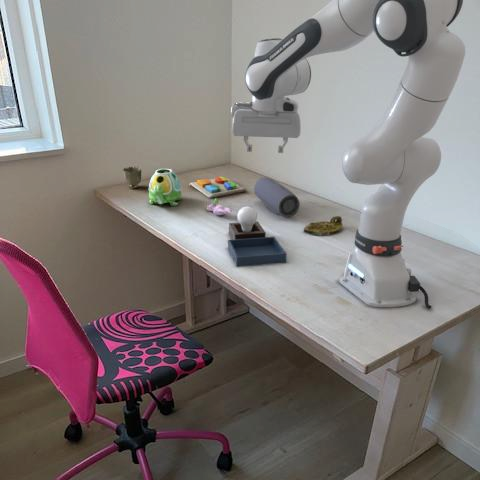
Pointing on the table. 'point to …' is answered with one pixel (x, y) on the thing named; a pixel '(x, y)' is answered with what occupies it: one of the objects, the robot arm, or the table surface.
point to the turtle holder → (164, 187)
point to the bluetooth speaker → (276, 197)
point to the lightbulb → (247, 218)
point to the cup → (132, 176)
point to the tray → (256, 251)
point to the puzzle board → (217, 187)
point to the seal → (325, 227)
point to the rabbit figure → (218, 208)
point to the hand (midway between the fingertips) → (264, 151)
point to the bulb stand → (238, 233)
